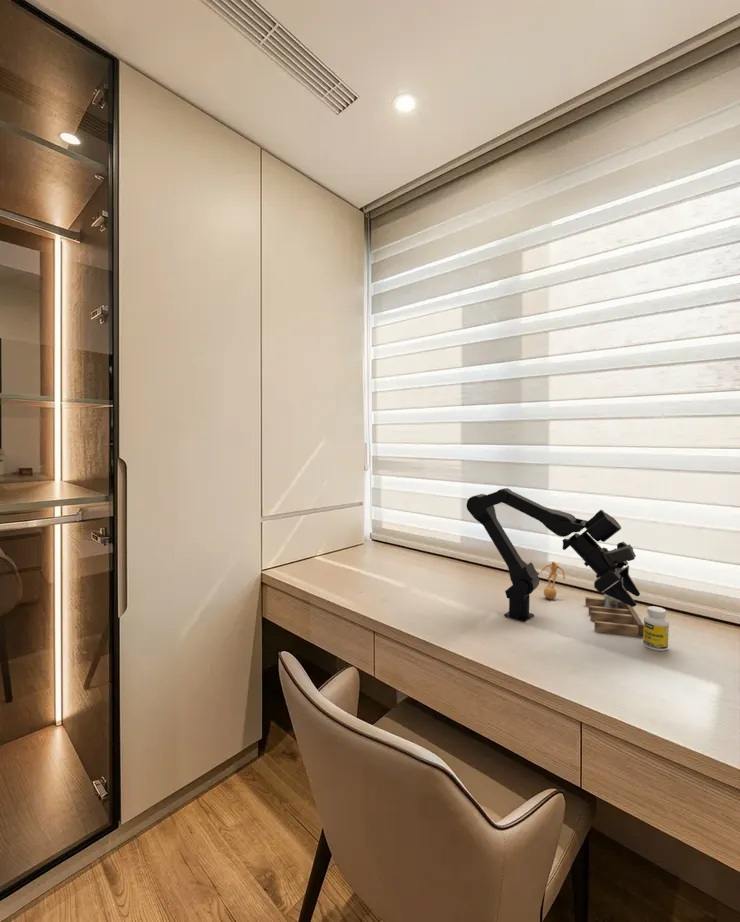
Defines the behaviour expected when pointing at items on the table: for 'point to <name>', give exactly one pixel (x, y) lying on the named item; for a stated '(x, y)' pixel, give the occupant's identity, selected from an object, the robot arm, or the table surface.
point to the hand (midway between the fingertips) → (636, 600)
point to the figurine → (550, 591)
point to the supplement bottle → (656, 629)
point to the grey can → (612, 602)
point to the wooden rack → (614, 618)
